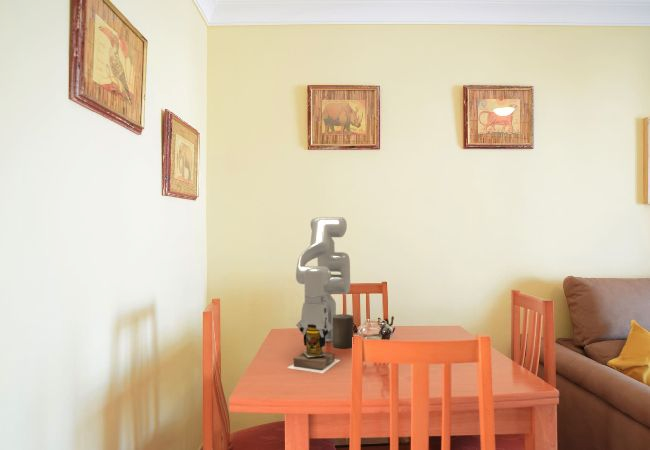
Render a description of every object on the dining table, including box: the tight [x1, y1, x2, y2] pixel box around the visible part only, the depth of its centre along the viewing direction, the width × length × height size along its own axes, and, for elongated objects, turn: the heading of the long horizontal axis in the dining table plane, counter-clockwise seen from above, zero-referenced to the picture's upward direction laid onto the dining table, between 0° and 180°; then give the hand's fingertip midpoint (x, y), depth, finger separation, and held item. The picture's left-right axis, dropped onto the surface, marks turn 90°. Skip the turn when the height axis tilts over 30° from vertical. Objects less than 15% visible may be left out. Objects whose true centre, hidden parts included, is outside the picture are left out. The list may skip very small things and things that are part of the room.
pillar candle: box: [332, 313, 354, 349], centre depth 188 cm, size 10×10×15 cm
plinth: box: [293, 351, 336, 370], centre depth 160 cm, size 12×12×3 cm
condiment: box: [301, 324, 326, 357], centre depth 160 cm, size 7×8×12 cm
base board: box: [287, 358, 341, 374], centre depth 159 cm, size 17×15×1 cm
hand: (314, 345), depth 160 cm, fingers closed on condiment, 6 cm apart
